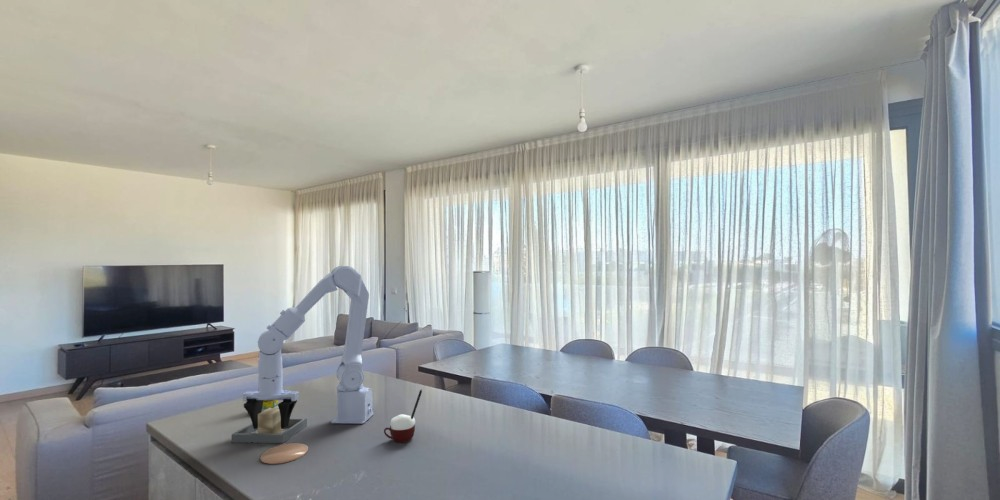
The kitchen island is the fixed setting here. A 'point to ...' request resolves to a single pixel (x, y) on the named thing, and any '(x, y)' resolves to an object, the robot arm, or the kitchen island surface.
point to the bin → (246, 435)
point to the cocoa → (403, 426)
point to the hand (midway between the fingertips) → (271, 427)
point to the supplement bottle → (269, 404)
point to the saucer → (284, 453)
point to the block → (269, 421)
